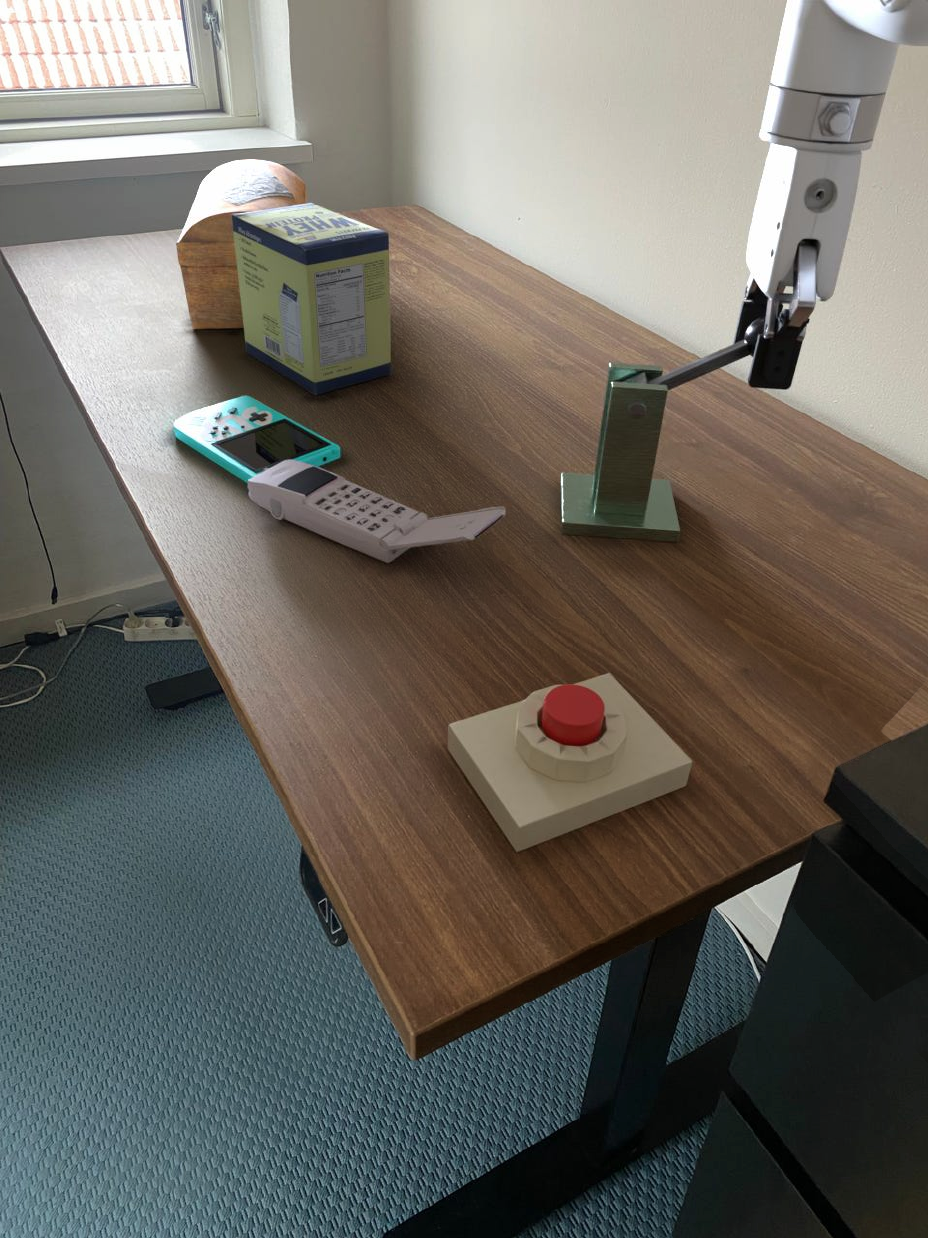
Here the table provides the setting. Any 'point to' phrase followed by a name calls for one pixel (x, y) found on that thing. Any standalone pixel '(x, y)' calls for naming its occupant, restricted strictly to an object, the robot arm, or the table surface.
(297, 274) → the protein box
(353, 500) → the mobile phone
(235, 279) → the wooden box
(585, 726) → the button
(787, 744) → the table surface
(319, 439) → the handheld game console
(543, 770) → the button block
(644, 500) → the bracket
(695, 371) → the lever
